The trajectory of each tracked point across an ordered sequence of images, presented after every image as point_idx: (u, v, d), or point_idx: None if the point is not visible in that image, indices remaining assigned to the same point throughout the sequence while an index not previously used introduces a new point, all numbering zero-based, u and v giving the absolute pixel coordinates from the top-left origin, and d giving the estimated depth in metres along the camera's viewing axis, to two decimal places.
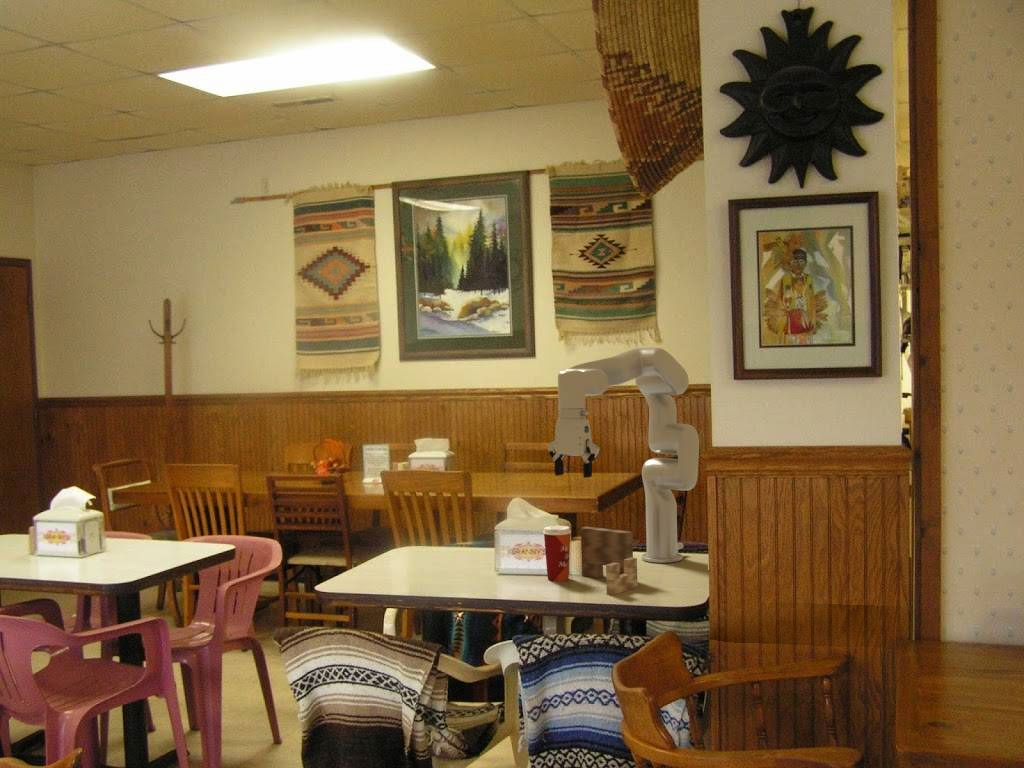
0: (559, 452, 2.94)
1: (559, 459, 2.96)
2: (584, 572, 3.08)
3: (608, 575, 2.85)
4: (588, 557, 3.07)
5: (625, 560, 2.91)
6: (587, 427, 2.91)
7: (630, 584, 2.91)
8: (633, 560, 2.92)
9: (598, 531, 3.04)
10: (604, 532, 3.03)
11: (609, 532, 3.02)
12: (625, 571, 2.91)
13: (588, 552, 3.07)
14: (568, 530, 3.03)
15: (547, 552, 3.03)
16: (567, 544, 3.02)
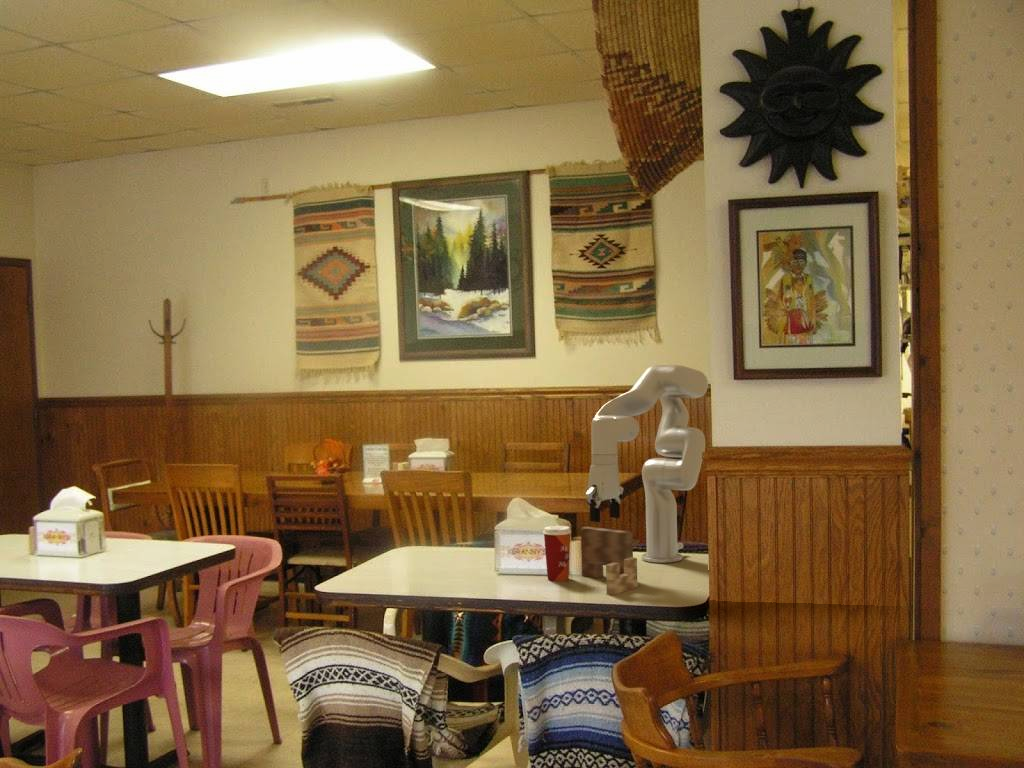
0: (604, 498, 3.00)
1: None
2: (584, 572, 3.08)
3: (608, 575, 2.85)
4: (588, 557, 3.07)
5: (625, 560, 2.91)
6: None
7: (630, 584, 2.91)
8: (633, 560, 2.92)
9: (598, 531, 3.04)
10: (604, 532, 3.03)
11: (609, 532, 3.02)
12: (625, 571, 2.91)
13: (588, 552, 3.07)
14: (568, 530, 3.03)
15: (547, 552, 3.03)
16: (567, 544, 3.02)
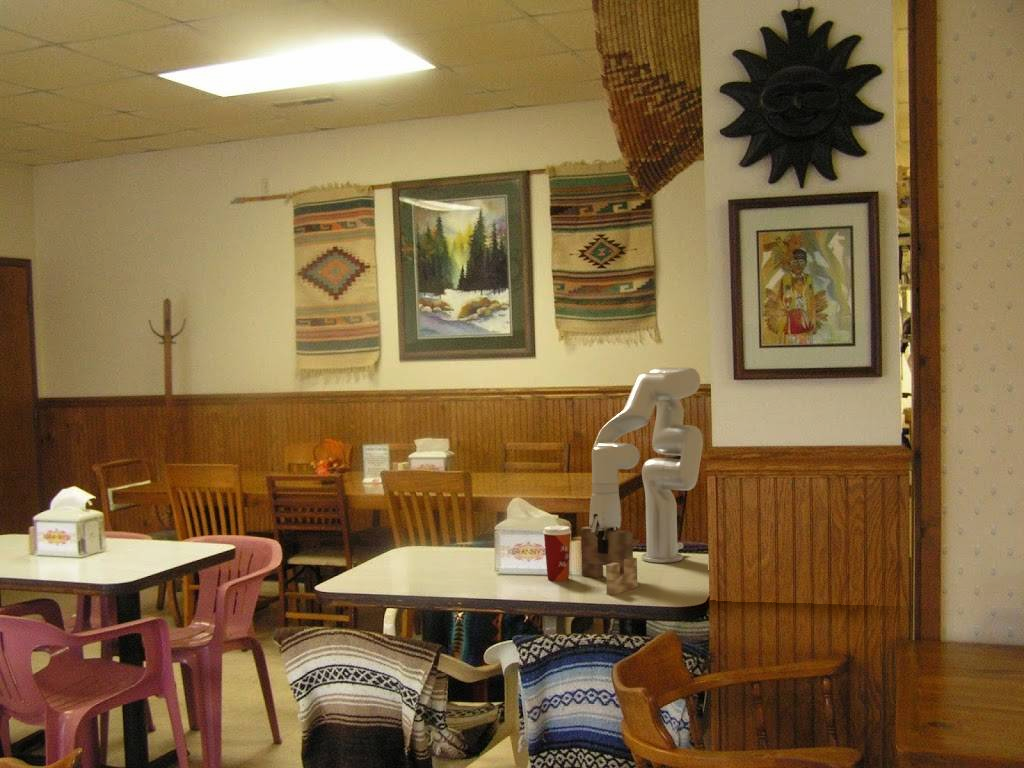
0: (605, 527, 3.00)
1: None
2: (584, 572, 3.08)
3: (608, 575, 2.85)
4: (588, 557, 3.07)
5: (625, 560, 2.91)
6: None
7: (630, 584, 2.91)
8: (633, 560, 2.92)
9: None
10: None
11: (609, 532, 3.02)
12: (625, 571, 2.91)
13: (588, 552, 3.07)
14: (568, 530, 3.03)
15: (547, 552, 3.03)
16: (567, 544, 3.02)
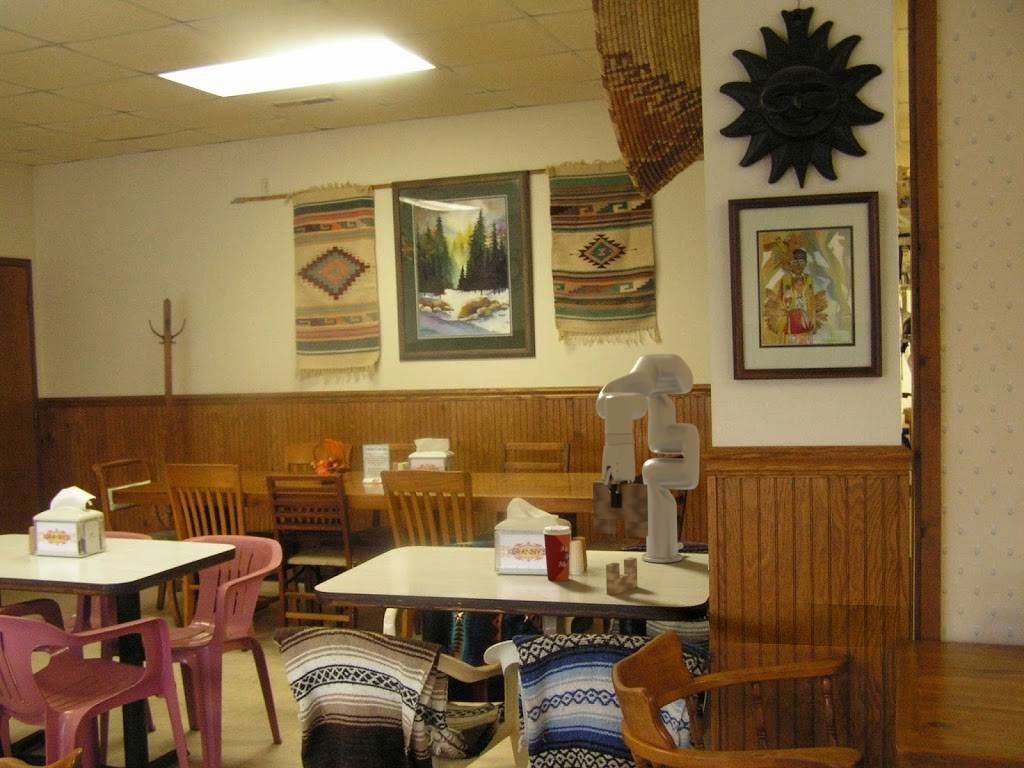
0: (619, 479, 2.85)
1: None
2: (596, 529, 2.92)
3: (608, 575, 2.85)
4: (601, 512, 2.91)
5: (625, 560, 2.91)
6: None
7: (630, 584, 2.91)
8: (633, 560, 2.92)
9: None
10: None
11: (623, 485, 2.86)
12: (625, 571, 2.91)
13: (601, 507, 2.91)
14: (568, 530, 3.03)
15: (547, 552, 3.03)
16: (567, 544, 3.02)
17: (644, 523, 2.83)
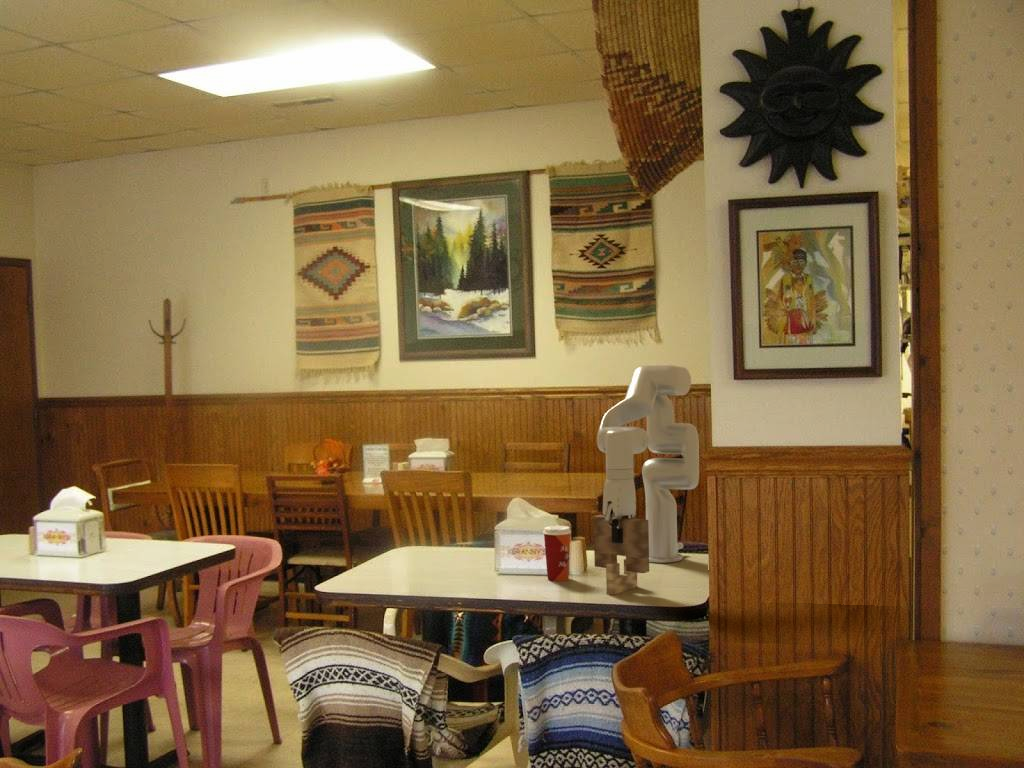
0: (620, 515, 2.85)
1: None
2: (597, 563, 2.92)
3: (608, 575, 2.85)
4: (602, 546, 2.91)
5: (625, 560, 2.91)
6: None
7: (630, 584, 2.91)
8: None
9: None
10: None
11: (624, 520, 2.86)
12: (625, 571, 2.91)
13: (601, 542, 2.91)
14: (568, 530, 3.03)
15: (547, 552, 3.03)
16: (567, 544, 3.02)
17: (645, 559, 2.84)
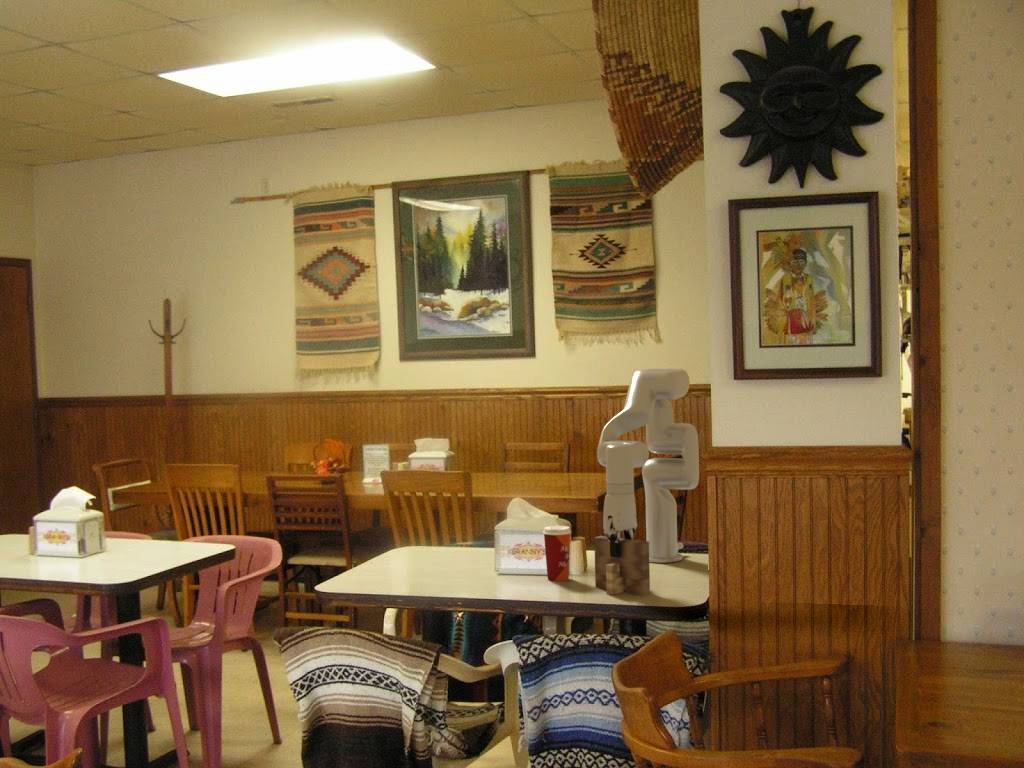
0: (620, 529, 2.85)
1: None
2: (598, 584, 2.93)
3: (608, 575, 2.85)
4: (602, 567, 2.92)
5: None
6: None
7: None
8: None
9: None
10: (619, 542, 2.88)
11: (624, 542, 2.87)
12: None
13: (602, 563, 2.92)
14: (568, 530, 3.03)
15: (547, 552, 3.03)
16: (567, 544, 3.02)
17: (645, 580, 2.84)
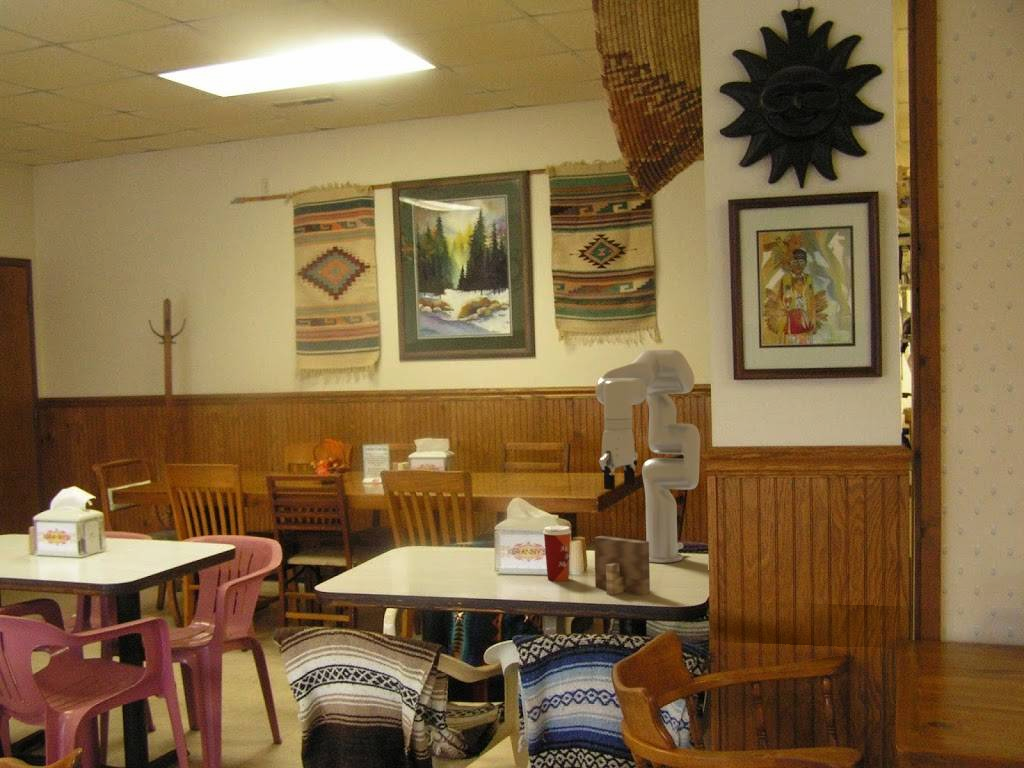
0: (618, 464, 2.86)
1: None
2: (598, 584, 2.93)
3: (608, 575, 2.85)
4: (602, 567, 2.92)
5: None
6: None
7: None
8: None
9: (612, 541, 2.89)
10: (619, 542, 2.88)
11: (624, 542, 2.87)
12: None
13: (602, 563, 2.92)
14: (568, 530, 3.03)
15: (547, 552, 3.03)
16: (567, 544, 3.02)
17: (645, 580, 2.84)
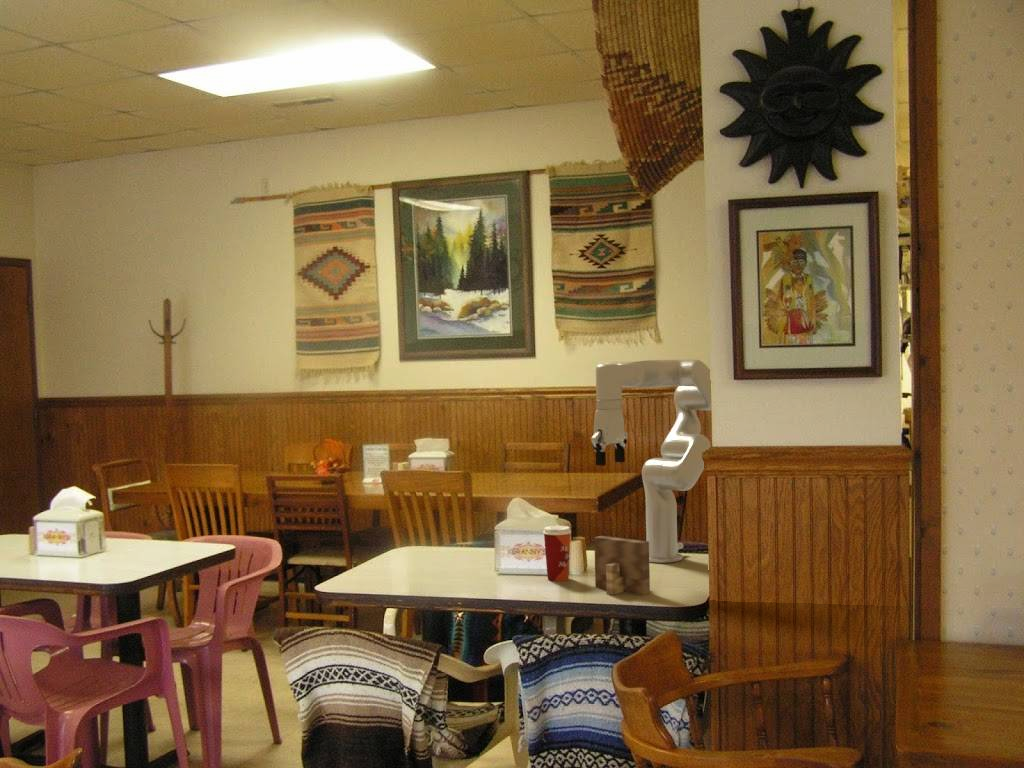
0: (609, 442, 3.07)
1: None
2: (598, 584, 2.93)
3: (608, 575, 2.85)
4: (602, 567, 2.92)
5: None
6: None
7: None
8: None
9: (612, 541, 2.89)
10: (619, 542, 2.88)
11: (624, 542, 2.87)
12: None
13: (602, 563, 2.92)
14: (568, 530, 3.03)
15: (547, 552, 3.03)
16: (567, 544, 3.02)
17: (645, 580, 2.84)
